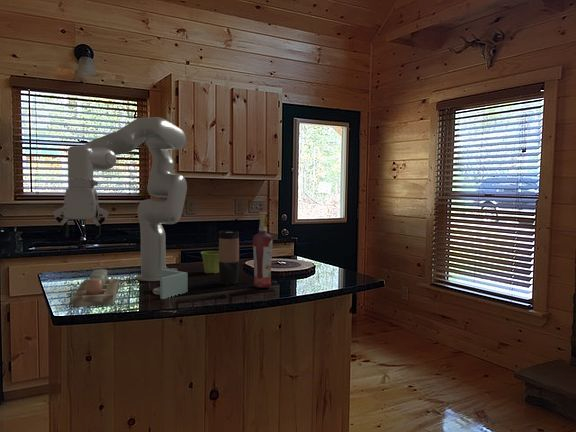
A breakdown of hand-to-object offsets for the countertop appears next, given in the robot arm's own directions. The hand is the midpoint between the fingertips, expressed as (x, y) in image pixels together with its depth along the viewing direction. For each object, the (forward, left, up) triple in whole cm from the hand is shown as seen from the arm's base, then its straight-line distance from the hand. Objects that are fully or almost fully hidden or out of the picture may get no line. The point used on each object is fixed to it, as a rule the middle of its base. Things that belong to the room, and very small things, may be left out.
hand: (81, 237), depth 159 cm
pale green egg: (-4, -3, -18) cm, 19 cm away
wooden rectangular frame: (-4, -3, -20) cm, 21 cm away
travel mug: (-50, -14, -21) cm, 56 cm away
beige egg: (-4, -11, -18) cm, 22 cm away
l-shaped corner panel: (-26, -3, -21) cm, 33 cm away
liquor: (-61, -4, -21) cm, 65 cm away
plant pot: (-46, -37, -21) cm, 63 cm away
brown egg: (-4, +5, -18) cm, 19 cm away
